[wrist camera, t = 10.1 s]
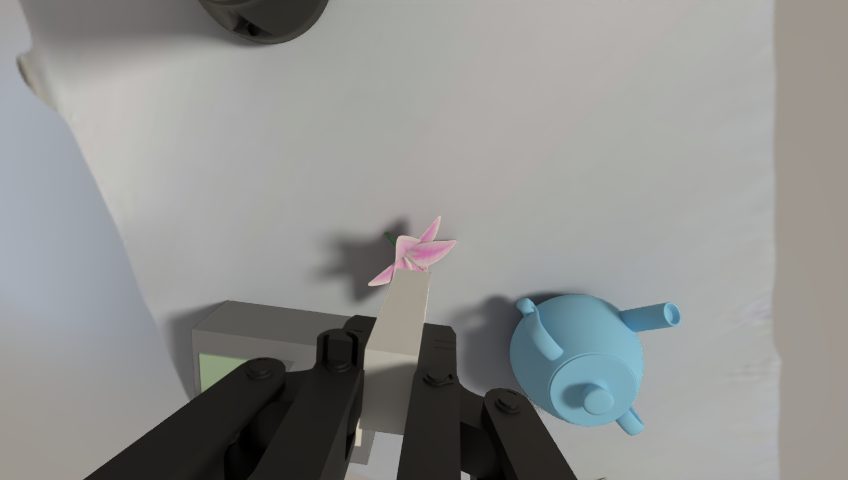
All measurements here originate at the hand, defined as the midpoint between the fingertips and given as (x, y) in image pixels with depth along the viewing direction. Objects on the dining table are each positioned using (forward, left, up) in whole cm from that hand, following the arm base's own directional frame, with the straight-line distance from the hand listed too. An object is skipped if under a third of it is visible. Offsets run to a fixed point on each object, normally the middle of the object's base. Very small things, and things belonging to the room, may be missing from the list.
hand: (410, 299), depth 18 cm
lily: (+5, -7, -33) cm, 34 cm away
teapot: (+26, +3, -33) cm, 42 cm away
